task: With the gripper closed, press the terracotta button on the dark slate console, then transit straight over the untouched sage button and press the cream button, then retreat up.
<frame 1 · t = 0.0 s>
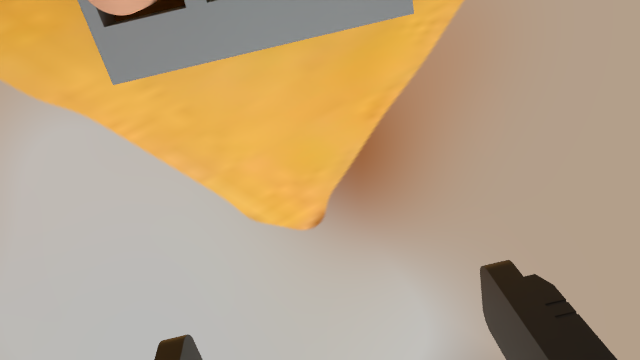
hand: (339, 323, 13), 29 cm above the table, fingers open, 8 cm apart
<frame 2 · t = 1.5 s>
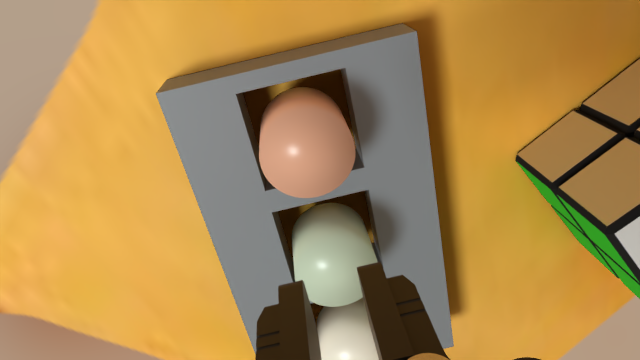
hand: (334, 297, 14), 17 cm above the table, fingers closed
console: (325, 217, 32), on the table
button sage: (332, 253, 29), point 4 cm above the table, slide at 0.0 cm
button cream: (354, 342, 32), point 4 cm above the table, slide at 0.0 cm
button terracotta: (304, 140, 25), point 4 cm above the table, slide at 0.0 cm
puzzle cube: (605, 154, 33), on the table
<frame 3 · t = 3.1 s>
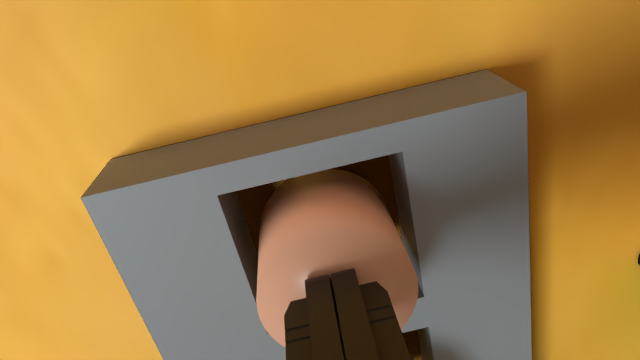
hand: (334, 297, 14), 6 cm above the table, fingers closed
console: (354, 342, 22), on the table
button terracotta: (330, 259, 16), point 4 cm above the table, slide at 0.8 cm, touching gripper
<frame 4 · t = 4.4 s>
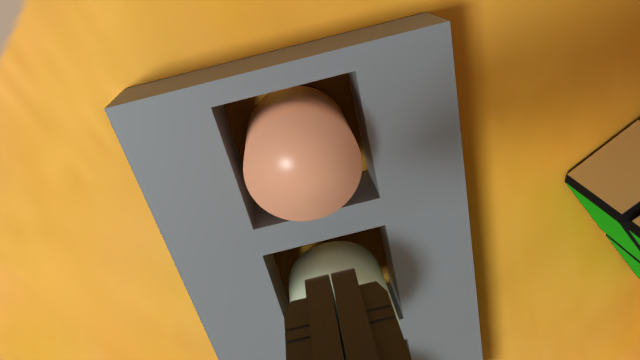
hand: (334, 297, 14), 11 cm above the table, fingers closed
console: (329, 254, 26), on the table
button sage: (340, 306, 22), point 4 cm above the table, slide at 0.0 cm
button terracotta: (300, 151, 21), point 2 cm above the table, slide at 1.8 cm
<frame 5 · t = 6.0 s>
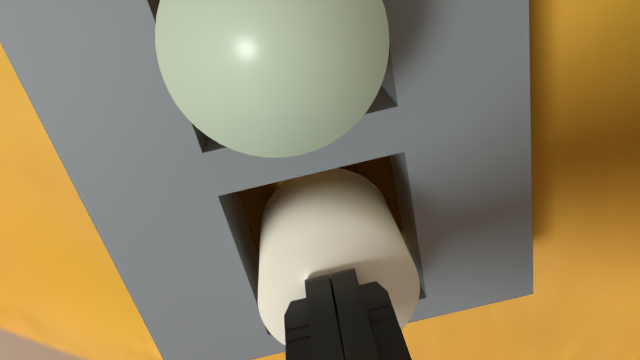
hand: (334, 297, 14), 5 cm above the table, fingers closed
console: (273, 14, 15), on the table
button sage: (274, 35, 12), point 4 cm above the table, slide at 0.0 cm
button cream: (332, 258, 16), point 3 cm above the table, slide at 0.9 cm, touching gripper
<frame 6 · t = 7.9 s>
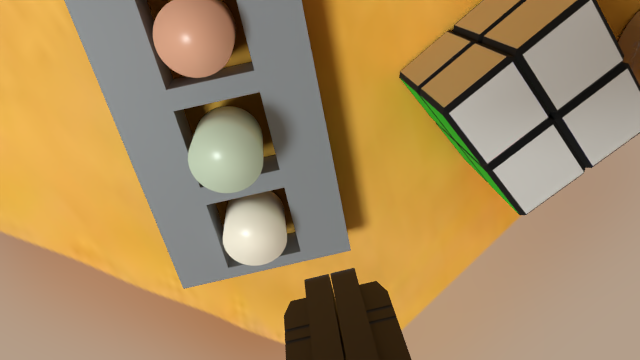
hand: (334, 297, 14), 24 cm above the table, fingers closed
console: (231, 127, 36), on the table
button sage: (227, 148, 32), point 4 cm above the table, slide at 0.0 cm
button cream: (255, 225, 37), point 2 cm above the table, slide at 1.8 cm
button terracotta: (197, 33, 30), point 2 cm above the table, slide at 1.8 cm
puzzle cube: (482, 76, 37), on the table
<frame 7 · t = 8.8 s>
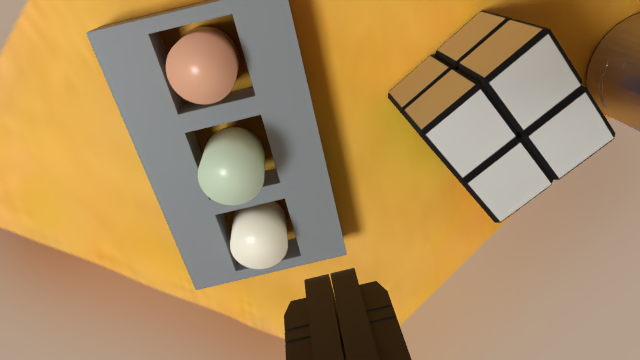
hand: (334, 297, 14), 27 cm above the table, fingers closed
console: (236, 144, 40), on the table
button sage: (233, 165, 36), point 4 cm above the table, slide at 0.0 cm
button cream: (259, 232, 41), point 2 cm above the table, slide at 1.8 cm
button terracotta: (204, 64, 34), point 2 cm above the table, slide at 1.8 cm
puzzle cube: (464, 94, 40), on the table
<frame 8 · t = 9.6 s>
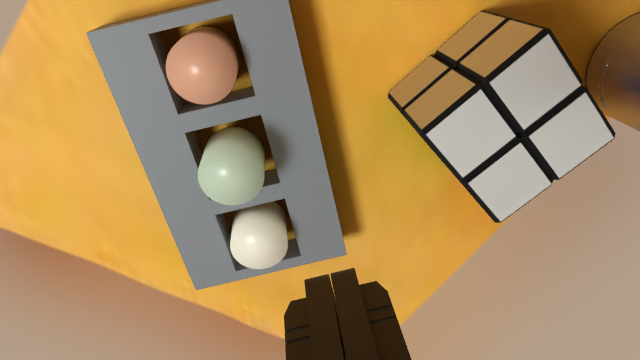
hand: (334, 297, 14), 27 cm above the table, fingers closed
console: (236, 144, 40), on the table
button sage: (233, 165, 36), point 4 cm above the table, slide at 0.0 cm
button cream: (259, 232, 41), point 2 cm above the table, slide at 1.8 cm
button terracotta: (204, 64, 34), point 2 cm above the table, slide at 1.8 cm
puzzle cube: (464, 94, 40), on the table
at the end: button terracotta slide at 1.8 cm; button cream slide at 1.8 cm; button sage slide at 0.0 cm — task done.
